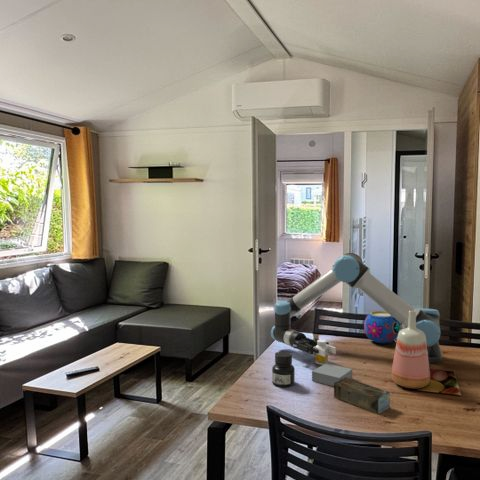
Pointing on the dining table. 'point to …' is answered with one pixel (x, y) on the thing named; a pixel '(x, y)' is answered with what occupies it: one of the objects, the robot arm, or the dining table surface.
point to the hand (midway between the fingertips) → (330, 352)
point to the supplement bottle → (319, 358)
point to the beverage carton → (362, 395)
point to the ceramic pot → (381, 327)
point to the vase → (411, 357)
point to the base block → (330, 374)
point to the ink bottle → (283, 370)
